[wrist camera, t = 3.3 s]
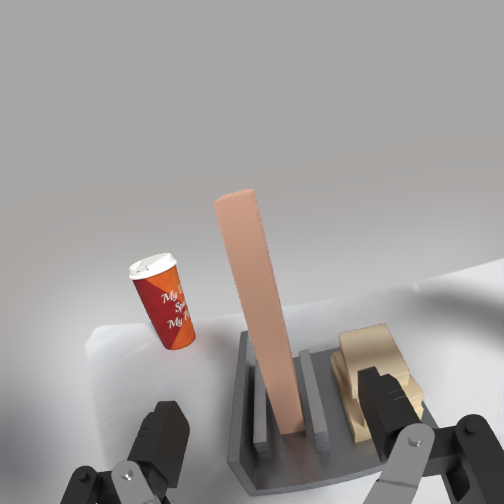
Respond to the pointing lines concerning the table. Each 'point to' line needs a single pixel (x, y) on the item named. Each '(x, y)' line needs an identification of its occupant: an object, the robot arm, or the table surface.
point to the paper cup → (163, 299)
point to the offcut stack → (364, 356)
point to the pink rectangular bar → (261, 304)
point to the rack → (298, 443)
